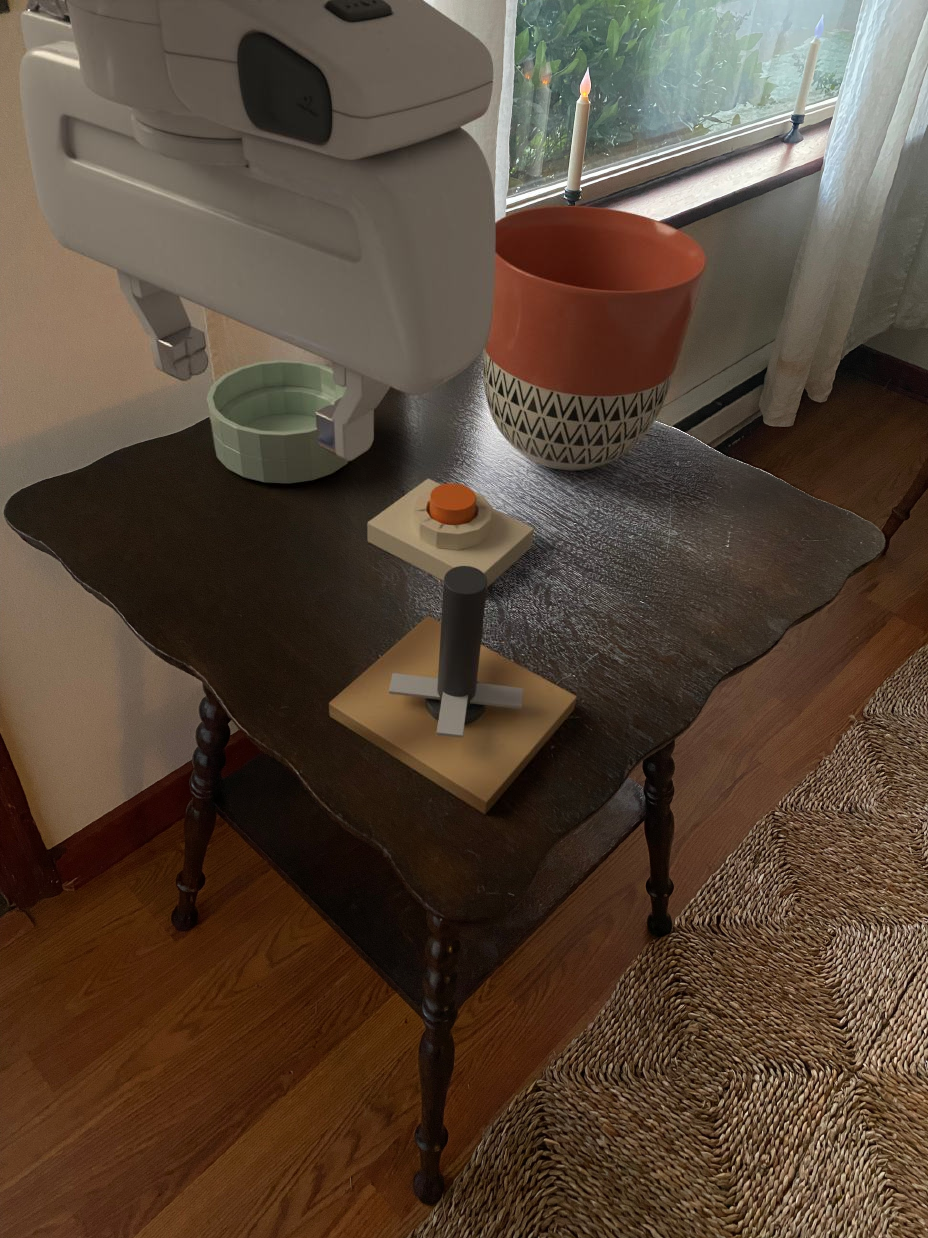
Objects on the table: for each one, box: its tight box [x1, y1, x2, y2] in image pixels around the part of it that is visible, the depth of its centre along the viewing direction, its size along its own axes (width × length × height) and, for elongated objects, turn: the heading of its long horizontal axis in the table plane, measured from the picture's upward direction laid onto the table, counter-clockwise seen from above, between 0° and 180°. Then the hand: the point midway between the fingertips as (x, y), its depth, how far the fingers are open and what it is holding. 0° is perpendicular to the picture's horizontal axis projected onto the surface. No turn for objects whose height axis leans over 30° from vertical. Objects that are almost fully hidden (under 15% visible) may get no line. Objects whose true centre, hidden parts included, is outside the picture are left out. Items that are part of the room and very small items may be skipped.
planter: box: [482, 205, 708, 471], centre depth 86 cm, size 20×20×21 cm
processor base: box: [366, 478, 535, 588], centre depth 80 cm, size 12×9×4 cm
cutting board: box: [328, 615, 578, 815], centre depth 66 cm, size 14×12×2 cm
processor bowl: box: [206, 359, 350, 484], centre depth 89 cm, size 14×14×6 cm
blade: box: [389, 566, 523, 738], centre depth 62 cm, size 10×10×12 cm
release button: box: [430, 482, 476, 526], centre depth 78 cm, size 4×4×2 cm
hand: (260, 408), depth 38 cm, fingers open, 8 cm apart
